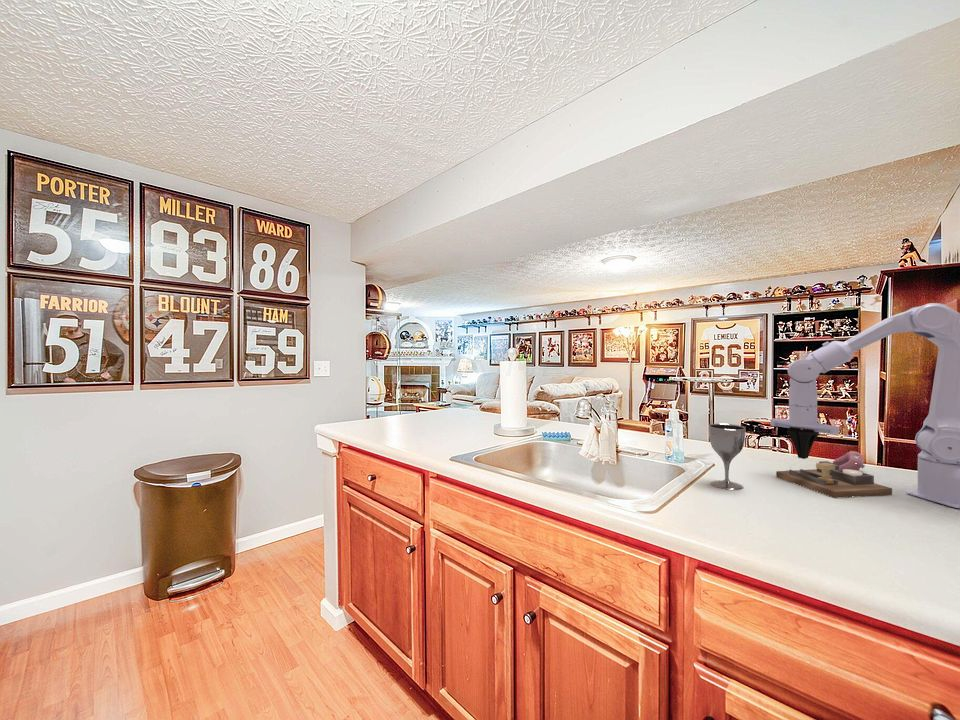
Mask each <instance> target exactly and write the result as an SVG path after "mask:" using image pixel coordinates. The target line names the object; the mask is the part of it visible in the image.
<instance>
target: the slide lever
mask: <svg viewBox="0 0 960 720" xmlns="http://www.w3.org/2000/svg"><path fill="white" fill-rule="evenodd" d="M815 467H816V469H821V470H822V477H817V478H818V479H821V480H824V481H827V484H833V483H834V480H832V479H829V470H835V465H833V464H830V463H819V462H818V463H815Z"/></svg>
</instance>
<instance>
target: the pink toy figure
mask: <svg viewBox="0 0 960 720" xmlns="http://www.w3.org/2000/svg"><path fill="white" fill-rule="evenodd" d="M863 456H864V455H863V454H862V453H860V452H858V451H853V450H850V451H849V452H848V451H847V452H846V453H845V454H843V455H841V456H840V457H838V458H835V459H834V460H833V461H832V463H833V464H835V465H838V466H839V470H844V469H852V470H857V471H860V469H865V467H866V466H865V465H866V464H865V459H864V457H863ZM855 463H857V464H855Z"/></svg>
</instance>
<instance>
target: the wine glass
mask: <svg viewBox="0 0 960 720" xmlns="http://www.w3.org/2000/svg"><path fill="white" fill-rule="evenodd" d="M708 437H709V442H710V445H711V448H712V449H713V450H714V452H715V453H716V454H717V455H718V456H719V457H720V459H721V460H722V463H723V466H724V467H723V468H724V480H713V481H711V482H710V485H712V486H713V487H715V488H718V489H723V490H727V491H729V490H730V491H739V490H742V489H744V486H743V485H742V484H740V483H738V482H734V481H730V477H729V475H730V474H729V473H730V466H731V462H732V460H733V459H734V458H736V457H737V456H738V455H739V454H740V453H741V452H742V450H743V448H744V445H745V440H746V427H745V426H743V425H738V424H732V423H711V424H708Z"/></svg>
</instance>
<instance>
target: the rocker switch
mask: <svg viewBox="0 0 960 720" xmlns="http://www.w3.org/2000/svg"><path fill="white" fill-rule="evenodd" d="M818 463H830V464H833V462H831V461H828V460H825V461H818ZM833 465H835V464H833ZM835 470H839V466H838V465H835Z"/></svg>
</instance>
